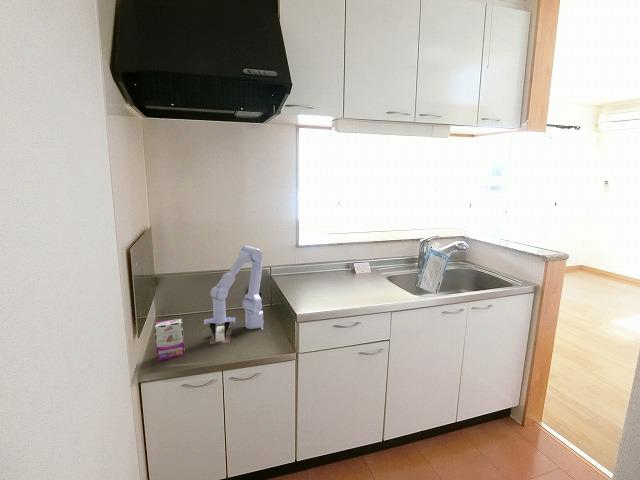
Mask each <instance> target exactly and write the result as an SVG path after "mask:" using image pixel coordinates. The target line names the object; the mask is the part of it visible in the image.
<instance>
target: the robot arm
mask: <svg viewBox="0 0 640 480" xmlns="http://www.w3.org/2000/svg"><path fill="white" fill-rule="evenodd" d="M263 255H264V254H263V251H262V250H261V249H260V248H258V247H254V246H250V245H247V244H245V245H244V246H242V247H241V249H240V251H239V252H238V257H237V258H236V260H235V262H234V263H233V264H232V267H231V268H230V270H229V271H228V272H225V273H223V275H222V276H221V278H220V280H219V282H218V283H216V285H215V286H213V287H212V288H211V291H210V292H209V294H210V295H209V296H210V297H212V310H213V311H212V313H213V317H211V318H207V319H204V320H203V325H205V326H207V325H209V329H210V331H211V330H212V332H213V334H214V337H215V338H216V329H217V325H221V324H224V325H223V326H224V329H225V334H224V336H225V337H226V333H227V332H228V328H229V326H230V324H231V323H232V324H233V323H236V316H235V317H232V316H227V312H226V298H227V297H228V295H229V290H230V288H231V287H232V285H233V284H234V282H235V281H236V276H237V275H238V273H239V272H240V270H241V269H242V268H243V267H244V265H245V264H248V263H249V264H251V270H250V277H249V283H248V284H249V285H248V292H247V293H246V294H245V295H244V298H243V300H242V302H241V304H242V305H241V306H242V308H243V309H244V313H245V321H244V323H246V327H245V328H246V329H249V330H254V329H255V330H256V329H261V330H262V331H263V330H264V323H265V322H264V311H263V310H262V308H263V304H262V297H261V295H260V288H261V280H262V272H263V266H264V258H263Z"/></svg>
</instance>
